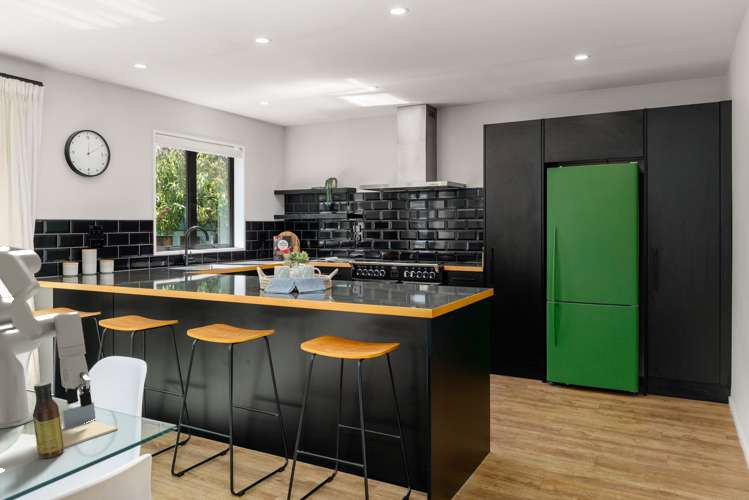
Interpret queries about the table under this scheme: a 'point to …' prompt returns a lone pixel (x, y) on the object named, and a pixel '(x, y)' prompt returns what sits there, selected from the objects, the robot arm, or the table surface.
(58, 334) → the robot arm
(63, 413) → the tile
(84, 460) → the table surface
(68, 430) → the mat
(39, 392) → the sauce bottle
